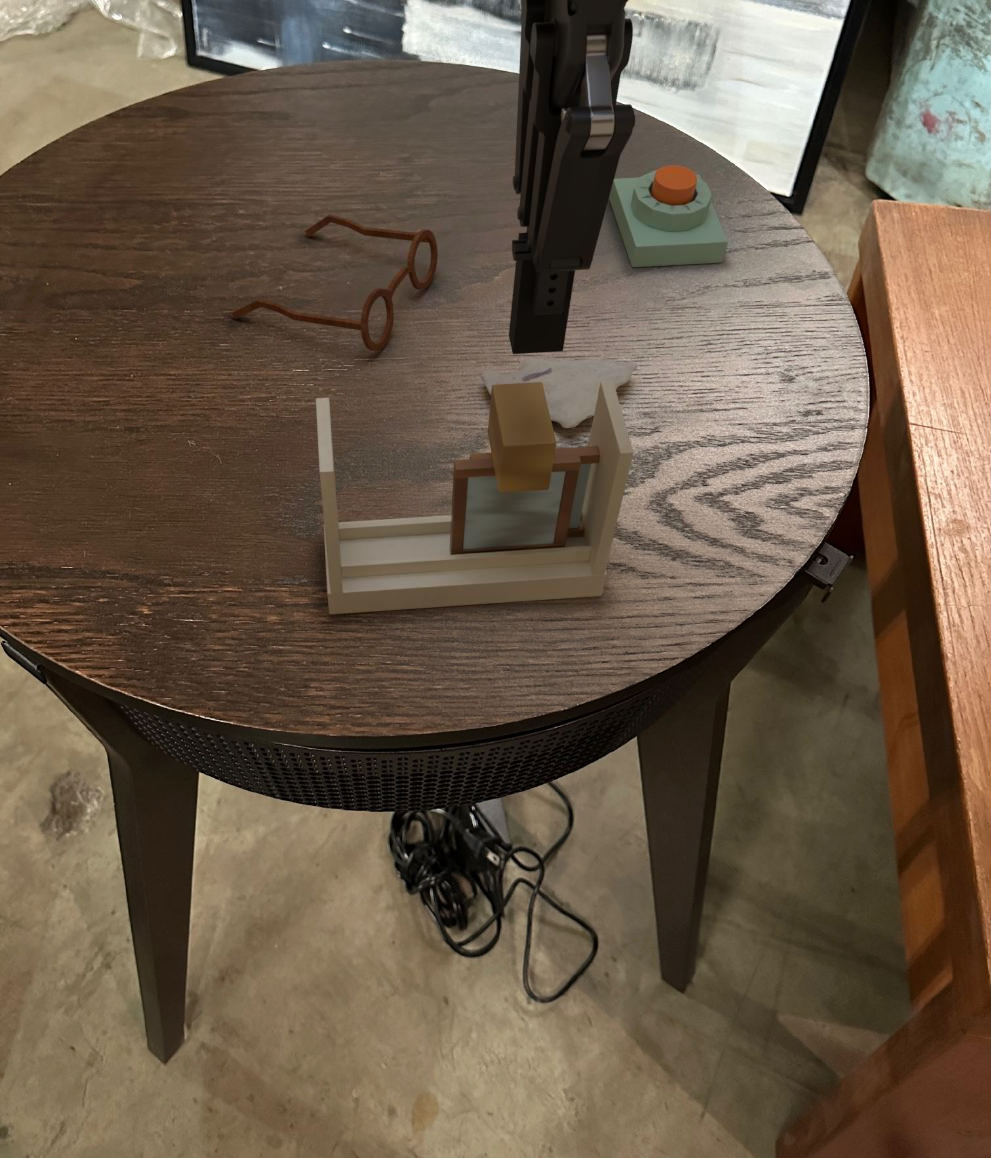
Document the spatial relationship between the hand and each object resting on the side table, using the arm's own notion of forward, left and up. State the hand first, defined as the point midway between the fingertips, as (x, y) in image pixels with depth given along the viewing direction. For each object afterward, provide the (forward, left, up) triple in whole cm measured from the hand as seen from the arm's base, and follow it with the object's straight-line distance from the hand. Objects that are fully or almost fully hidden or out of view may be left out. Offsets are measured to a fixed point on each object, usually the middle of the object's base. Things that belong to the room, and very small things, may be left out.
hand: (535, 342), depth 59 cm
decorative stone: (-7, -16, -21) cm, 27 cm away
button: (-19, -37, -17) cm, 45 cm away
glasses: (+10, -30, -21) cm, 38 cm away
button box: (-19, -37, -20) cm, 47 cm away
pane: (0, 0, -18) cm, 18 cm away
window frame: (+3, 0, -20) cm, 21 cm away
